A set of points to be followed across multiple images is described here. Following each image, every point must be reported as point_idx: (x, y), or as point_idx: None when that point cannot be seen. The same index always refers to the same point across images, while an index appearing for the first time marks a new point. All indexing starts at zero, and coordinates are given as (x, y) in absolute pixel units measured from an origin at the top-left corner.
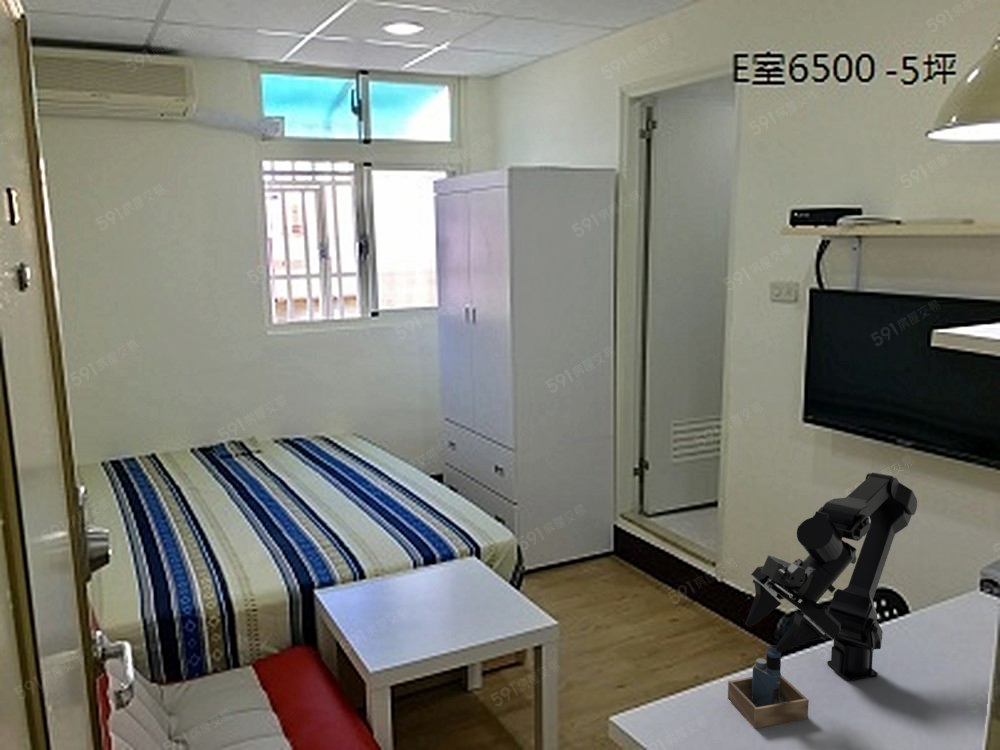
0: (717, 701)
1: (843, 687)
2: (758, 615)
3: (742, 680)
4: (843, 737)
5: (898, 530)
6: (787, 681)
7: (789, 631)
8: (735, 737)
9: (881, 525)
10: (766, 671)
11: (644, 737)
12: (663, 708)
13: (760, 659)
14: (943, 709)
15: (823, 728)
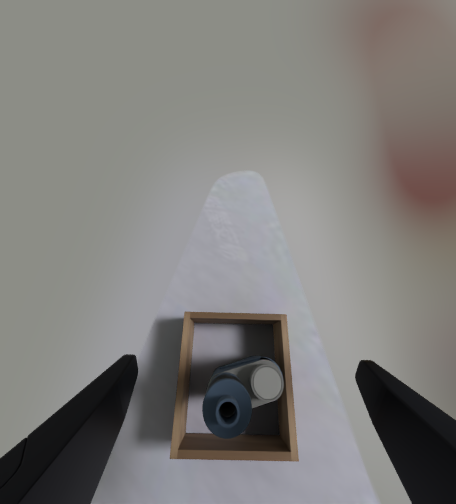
0: (275, 299)
1: None
2: (406, 450)
3: (283, 345)
4: None
5: None
6: (255, 458)
7: (31, 458)
8: (183, 276)
9: None
10: (230, 373)
11: (224, 177)
12: (275, 219)
13: (275, 384)
14: None
15: (141, 453)
